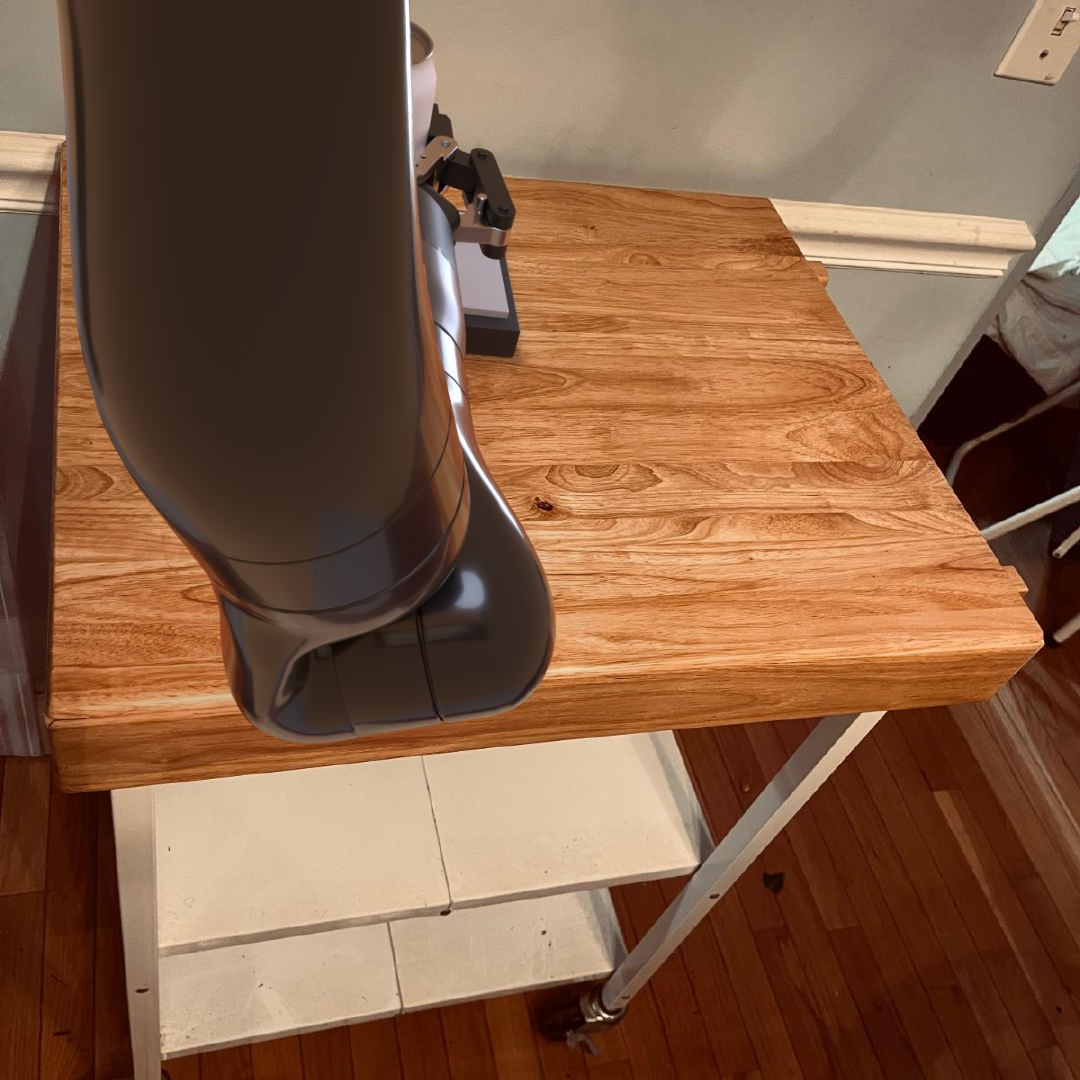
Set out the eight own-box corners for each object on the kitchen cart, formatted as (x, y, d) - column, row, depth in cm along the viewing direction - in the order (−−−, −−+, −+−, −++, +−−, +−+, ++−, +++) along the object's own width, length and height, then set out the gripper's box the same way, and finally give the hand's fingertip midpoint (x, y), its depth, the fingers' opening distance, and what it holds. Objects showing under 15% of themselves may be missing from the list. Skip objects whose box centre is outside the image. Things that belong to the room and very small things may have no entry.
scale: (310, 338, 71) (313, 302, 69) (309, 218, 80) (312, 182, 78) (513, 358, 75) (522, 324, 73) (491, 241, 84) (499, 208, 82)
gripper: (558, 252, 44) (511, 61, 55) (193, 204, 40) (219, 9, 51) (518, 389, 50) (482, 191, 60) (193, 358, 46) (216, 153, 56)
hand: (361, 108), depth 56 cm, fingers closed on can, 6 cm apart
